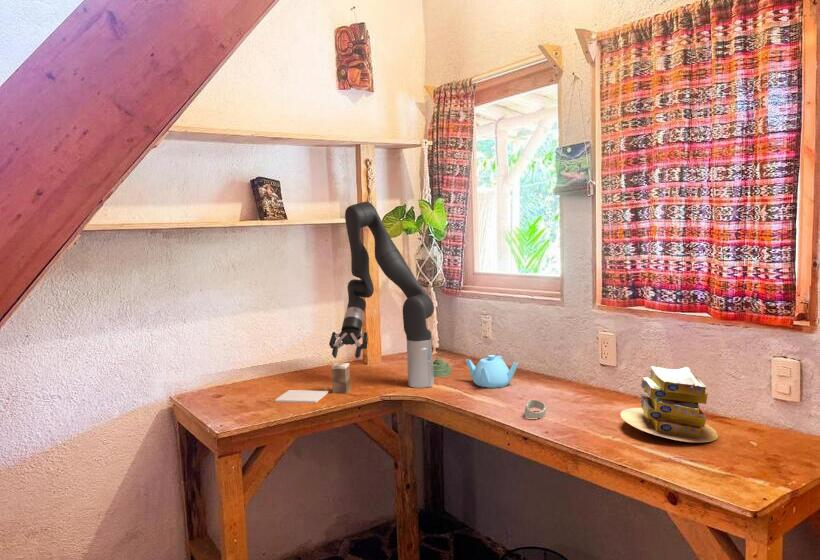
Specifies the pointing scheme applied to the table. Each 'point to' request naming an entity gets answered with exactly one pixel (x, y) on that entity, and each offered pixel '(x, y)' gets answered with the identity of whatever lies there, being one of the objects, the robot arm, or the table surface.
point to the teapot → (491, 372)
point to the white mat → (301, 396)
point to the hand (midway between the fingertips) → (345, 357)
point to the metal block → (341, 378)
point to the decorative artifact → (441, 368)
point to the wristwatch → (534, 405)
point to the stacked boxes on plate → (672, 406)
